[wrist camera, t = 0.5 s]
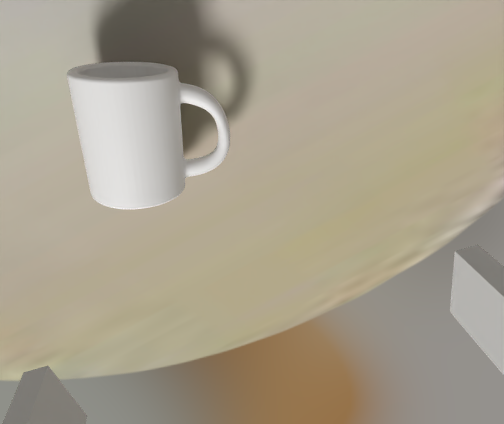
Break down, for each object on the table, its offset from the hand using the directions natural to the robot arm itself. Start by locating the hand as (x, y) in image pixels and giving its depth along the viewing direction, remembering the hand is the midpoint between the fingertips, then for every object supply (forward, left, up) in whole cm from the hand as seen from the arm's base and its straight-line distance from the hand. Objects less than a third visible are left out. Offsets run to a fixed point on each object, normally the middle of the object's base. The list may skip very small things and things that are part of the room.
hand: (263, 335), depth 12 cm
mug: (-2, -4, -27) cm, 27 cm away
